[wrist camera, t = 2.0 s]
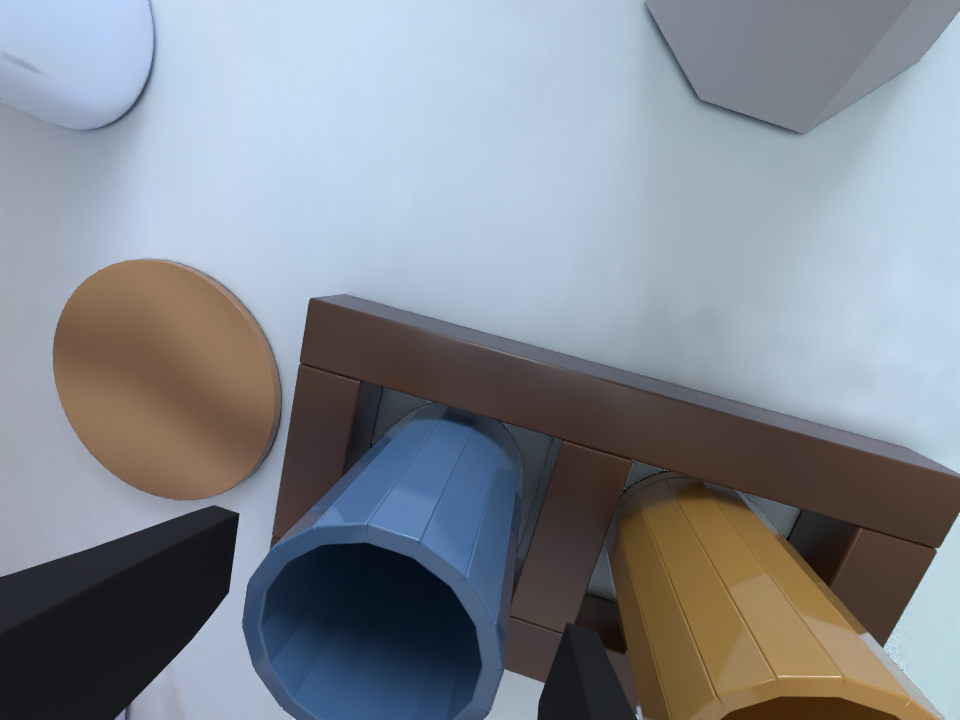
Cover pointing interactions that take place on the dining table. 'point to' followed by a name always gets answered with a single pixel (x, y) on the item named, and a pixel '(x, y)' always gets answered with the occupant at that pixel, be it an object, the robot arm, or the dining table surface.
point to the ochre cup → (737, 617)
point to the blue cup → (396, 579)
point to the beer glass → (74, 58)
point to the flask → (797, 51)
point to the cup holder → (612, 465)
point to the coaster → (166, 379)
